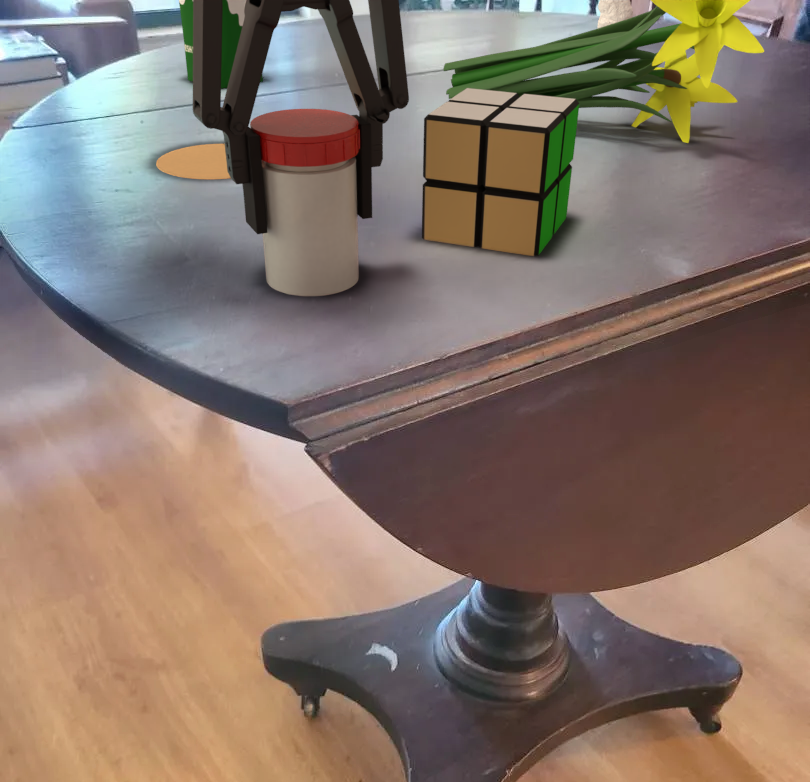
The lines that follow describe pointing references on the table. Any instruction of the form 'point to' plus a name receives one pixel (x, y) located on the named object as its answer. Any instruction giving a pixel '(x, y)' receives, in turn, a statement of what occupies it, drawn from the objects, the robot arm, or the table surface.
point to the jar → (311, 228)
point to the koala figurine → (614, 11)
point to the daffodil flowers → (675, 83)
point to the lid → (307, 137)
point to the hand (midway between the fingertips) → (309, 219)
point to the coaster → (196, 162)
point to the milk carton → (230, 35)
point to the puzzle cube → (498, 170)
